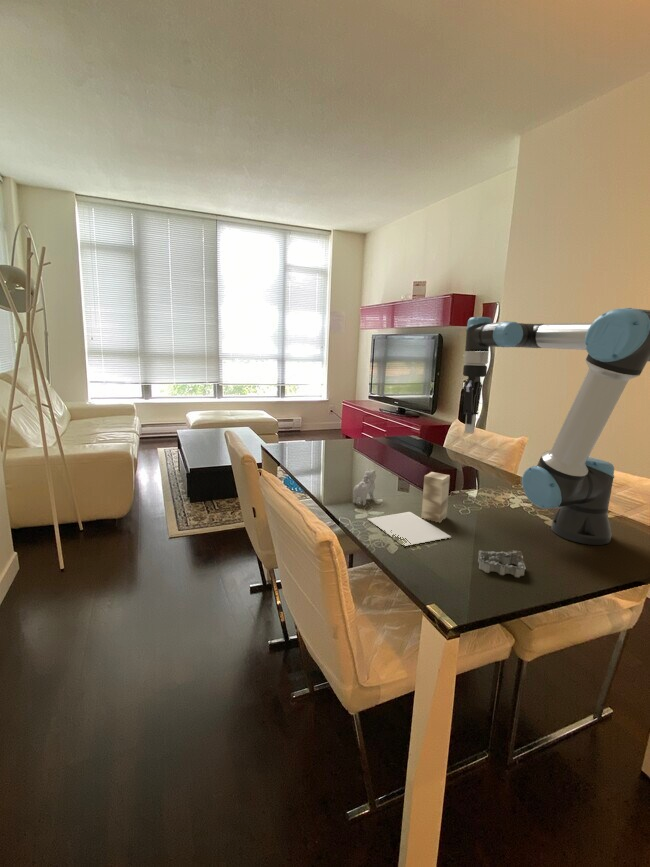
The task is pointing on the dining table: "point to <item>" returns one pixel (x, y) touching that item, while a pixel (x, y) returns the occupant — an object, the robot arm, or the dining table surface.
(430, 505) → the birch block
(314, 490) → the dining table surface
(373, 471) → the dog figurine
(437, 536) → the mat
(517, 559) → the egg carton
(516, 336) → the robot arm
